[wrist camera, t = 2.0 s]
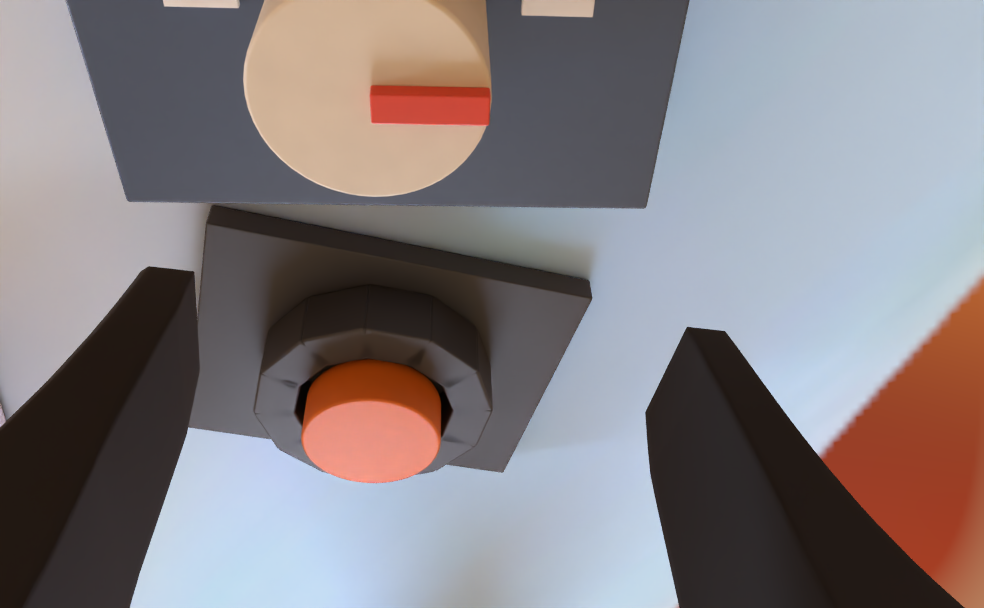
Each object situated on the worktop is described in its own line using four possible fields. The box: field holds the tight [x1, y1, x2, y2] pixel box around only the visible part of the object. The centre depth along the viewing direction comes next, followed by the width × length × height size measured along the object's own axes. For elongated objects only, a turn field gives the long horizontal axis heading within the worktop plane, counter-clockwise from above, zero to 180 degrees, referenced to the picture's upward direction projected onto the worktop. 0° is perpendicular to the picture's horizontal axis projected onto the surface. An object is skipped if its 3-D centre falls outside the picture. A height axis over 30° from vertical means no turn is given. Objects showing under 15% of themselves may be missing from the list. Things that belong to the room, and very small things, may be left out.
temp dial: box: [243, 0, 492, 197], centre depth 15 cm, size 4×4×4 cm
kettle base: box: [188, 206, 592, 475], centre depth 27 cm, size 11×9×3 cm
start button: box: [301, 359, 441, 483], centre depth 26 cm, size 4×4×2 cm
